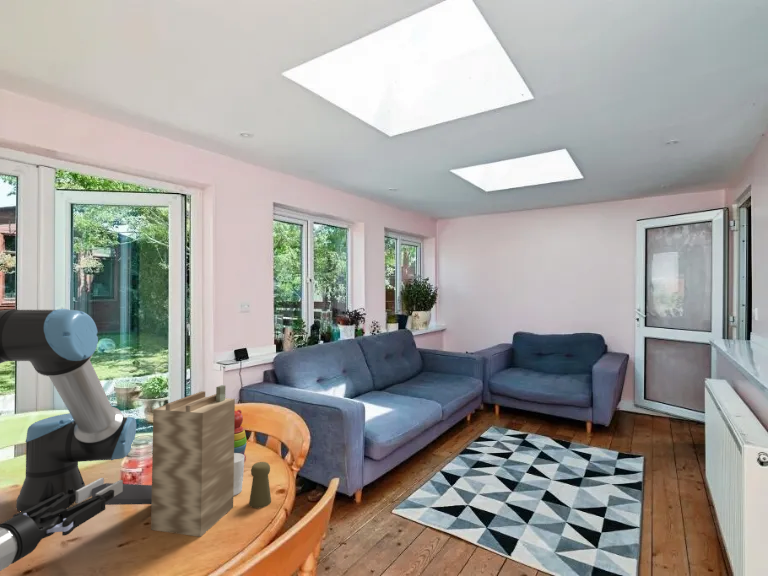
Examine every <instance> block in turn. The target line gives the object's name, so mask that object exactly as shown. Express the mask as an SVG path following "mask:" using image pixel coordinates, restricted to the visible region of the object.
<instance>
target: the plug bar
mask: <svg viewBox="0 0 768 576" xmlns="http://www.w3.org/2000/svg"><path fill="white" fill-rule="evenodd" d="M114 483H115V482H113V483H110V482H106V483H105V482H104V484H103V485H100V486H98V487H95V488H93V489H92V496H91V498H92V497H95V496H96V493H98V492H99V491H101V490H103V489H105V488H107V487H108V486H110V485H112V484H114ZM106 505H107V506H108V505H109V506H111V505H112V506H113V505H116V506H117V505H118V506H119V505H123V506H124V505H127V506H129V505H152V484H151V485H149V484H132V483H131V484H130V483H123V492H121V493H119V494H118V495H116V496H114V497H113V498H111V499H110V500H108V501H106V502H105V506H106Z"/></svg>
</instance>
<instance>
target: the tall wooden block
mask: <svg viewBox="0 0 768 576" xmlns="http://www.w3.org/2000/svg"><path fill="white" fill-rule="evenodd" d="M215 391H216V392H215V394H212V395H210V396H206V391H202V390H201V391H199V392H196V393H193V394H191V395H188V396H187V395H186V396H185V397H181V398H179V399H176V400H174V401H171V402H169V403H165V404H164V405H162V406H159V407H156V408H154V409H153V410H152V414H153V415H152V417H153V418H152V457H151V458H152V464H151V467H152V468H151V485H152V504H150V505H151V510H150V511H151V514H150V519H151V520H150V530H151V531H158V532H163V533H172V534H179V535H187V536H193V537H200V538H201V537H202V536H203V535H204V534H206V533H207V532H208V531H209V530H210V529H211V528H212V527H214V525H216V524H217V522H219V521H220V520H221V519H222V518H223V517H224V516H226V515H227V513H229V512H230V511H231V510H232V509H233V508H234V496H233V487H234V421H235V411H236V409H235V407H236V399H235V398H229V397H227V398H226V385H225V384H224V385H223V384H221V385H218V386H215ZM206 531H207V532H206Z"/></svg>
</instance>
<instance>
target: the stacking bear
mask: <svg viewBox="0 0 768 576" xmlns="http://www.w3.org/2000/svg"><path fill="white" fill-rule="evenodd" d="M243 420H244V419H243V414H242V410H241V409H237V410H235V421H234V453H240V454H243V455H244V463H245V462H246V460H247V458H246V457H247V456H246V454H245V451H246V448H247V441H248V440H247V436H246V430H245V428H244V427H243V426H242V425H243Z"/></svg>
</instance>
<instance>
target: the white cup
mask: <svg viewBox="0 0 768 576" xmlns="http://www.w3.org/2000/svg"><path fill="white" fill-rule="evenodd" d="M244 469H245V462H244V455H243V454H240V453H234V487H233V497H235V496H237V495H239V494H240V493H241V492H242V491H243V490H242V489H243V481H244Z"/></svg>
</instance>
